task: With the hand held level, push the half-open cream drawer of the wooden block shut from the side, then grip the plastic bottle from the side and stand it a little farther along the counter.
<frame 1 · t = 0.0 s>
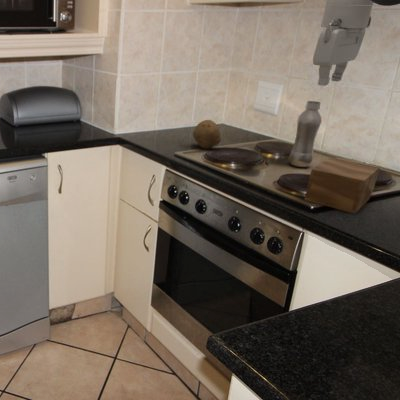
hand: (329, 83, 111), 30 cm above the countertop, tool pointing down, fingers open, 8 cm apart
brown coconut: (204, 148, 167), on the countertop
drawer: (348, 178, 127), point 4 cm above the countertop, slide at 4.0 cm
wooden block: (336, 199, 124), on the countertop
plastic bottle: (298, 166, 150), on the countertop
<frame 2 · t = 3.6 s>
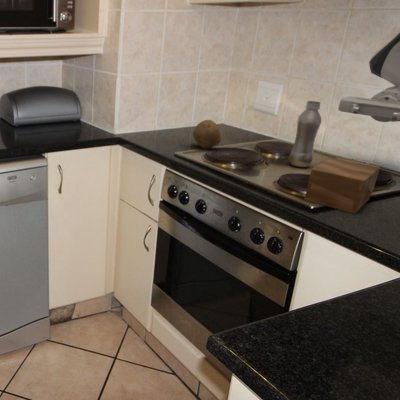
hand: (374, 113, 127), 20 cm above the countertop, tool horizontal, fingers open, 8 cm apart
nothing on the countertop moved.
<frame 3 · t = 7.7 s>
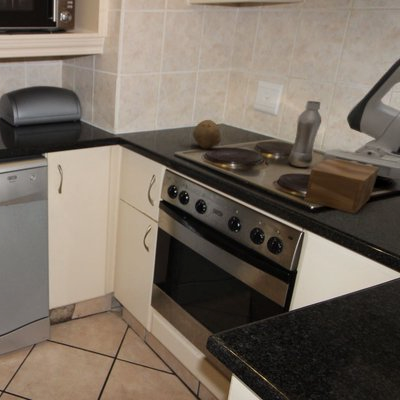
hand: (356, 169, 130), 5 cm above the countertop, tool horizontal, fingers closed, pressing on drawer
drawer: (347, 179, 126), point 4 cm above the countertop, slide at 3.1 cm, touching gripper
everything else where it was.
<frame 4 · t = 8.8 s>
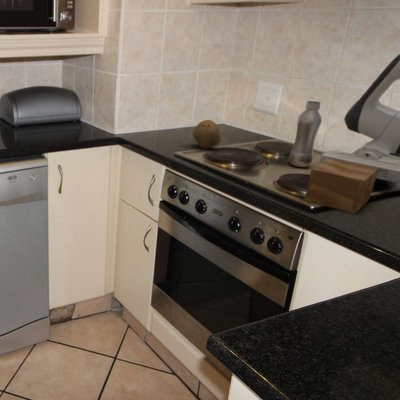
hand: (353, 172, 128), 5 cm above the countertop, tool horizontal, fingers closed, pressing on drawer
drawer: (343, 182, 124), point 4 cm above the countertop, slide at 0.0 cm, touching wooden block, gripper
everything else where it was.
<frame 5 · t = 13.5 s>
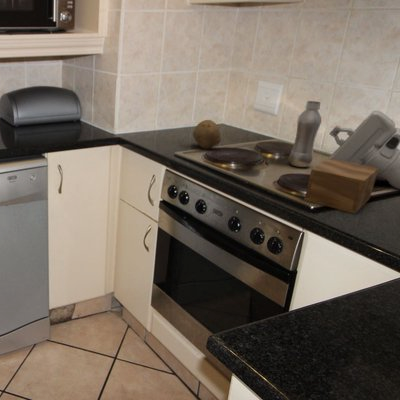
hand: (332, 129, 138), 14 cm above the countertop, tool pointing upward, fingers closed
drawer: (343, 182, 124), point 4 cm above the countertop, slide at 0.0 cm, touching wooden block
everything else where it was.
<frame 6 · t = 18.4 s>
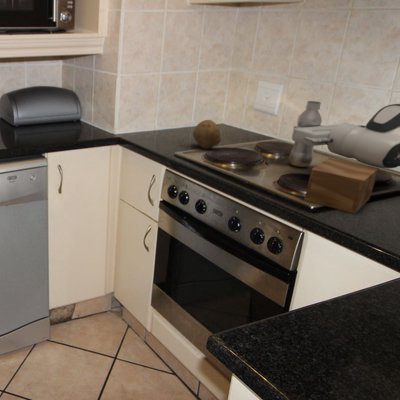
hand: (305, 127, 146), 12 cm above the countertop, tool horizontal, fingers closed on plastic bottle, 6 cm apart
drawer: (343, 182, 124), point 4 cm above the countertop, slide at 0.0 cm
plastic bottle: (298, 166, 150), on the countertop, touching gripper
everything else where it was.
when the fingers open (12 cm above the countertop, at t = 23.4 s): plastic bottle stays where it is, on the countertop.
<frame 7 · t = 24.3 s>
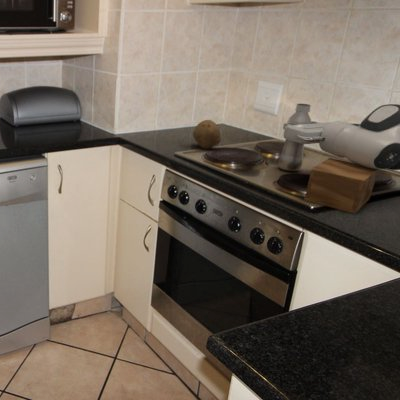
hand: (298, 124, 142), 14 cm above the countertop, tool horizontal, fingers open, 8 cm apart
plastic bottle: (288, 170, 146), on the countertop, touching gripper
everything else where it was.
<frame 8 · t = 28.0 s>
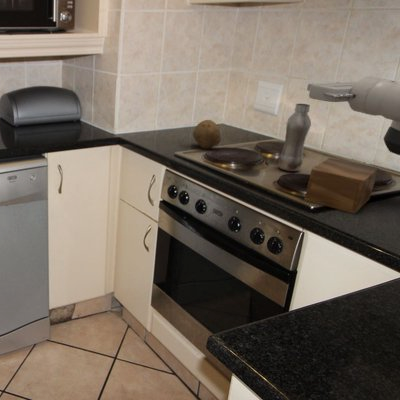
hand: (322, 86, 132), 26 cm above the countertop, tool horizontal, fingers open, 8 cm apart
plastic bottle: (288, 170, 146), on the countertop
everything else where it was.
at the end: drawer slide at 0.0 cm; plastic bottle inside the target area (0.6 cm from its centre), on the countertop; plastic bottle tilted 0° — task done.
